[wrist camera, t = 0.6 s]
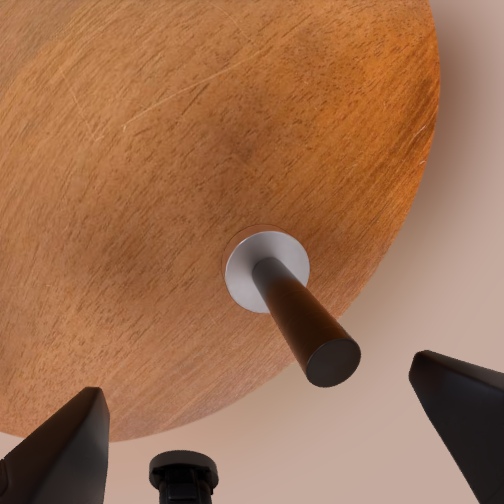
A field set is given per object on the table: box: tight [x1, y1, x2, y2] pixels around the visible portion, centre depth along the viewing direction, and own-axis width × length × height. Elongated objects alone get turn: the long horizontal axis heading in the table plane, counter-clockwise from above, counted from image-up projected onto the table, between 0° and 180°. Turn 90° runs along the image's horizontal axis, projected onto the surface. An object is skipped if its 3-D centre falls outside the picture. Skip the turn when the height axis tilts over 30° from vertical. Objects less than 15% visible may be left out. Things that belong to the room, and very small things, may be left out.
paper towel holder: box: [222, 224, 361, 388], centre depth 15 cm, size 5×5×11 cm
